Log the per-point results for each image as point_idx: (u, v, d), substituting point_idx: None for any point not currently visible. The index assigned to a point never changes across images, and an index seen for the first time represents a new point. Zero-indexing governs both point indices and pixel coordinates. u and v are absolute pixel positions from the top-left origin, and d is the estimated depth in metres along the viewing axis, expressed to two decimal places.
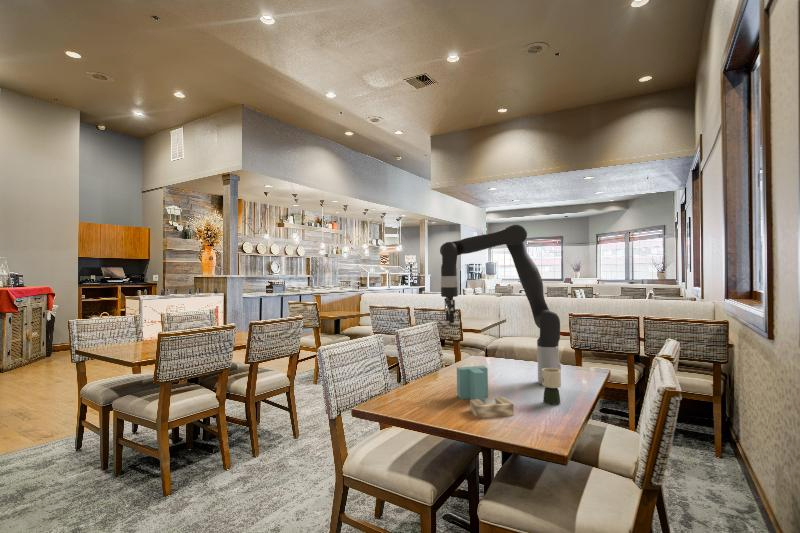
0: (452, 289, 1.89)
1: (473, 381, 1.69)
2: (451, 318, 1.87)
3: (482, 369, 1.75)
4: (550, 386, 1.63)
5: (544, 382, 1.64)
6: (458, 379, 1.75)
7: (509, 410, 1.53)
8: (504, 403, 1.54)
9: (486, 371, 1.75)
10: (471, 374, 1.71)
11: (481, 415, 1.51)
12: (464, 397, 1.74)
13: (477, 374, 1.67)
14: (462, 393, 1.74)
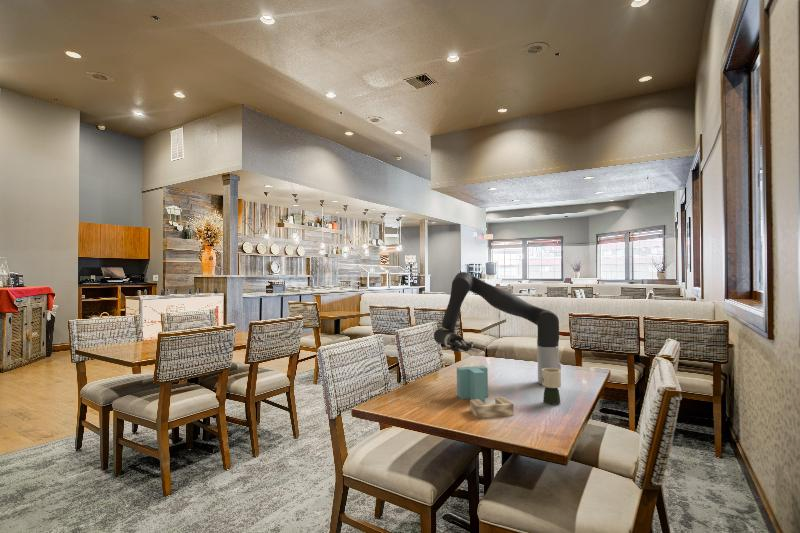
0: None
1: (473, 381, 1.69)
2: None
3: (482, 369, 1.75)
4: (550, 386, 1.63)
5: (544, 382, 1.64)
6: (458, 379, 1.75)
7: (509, 410, 1.53)
8: (504, 403, 1.54)
9: (486, 371, 1.75)
10: (471, 374, 1.71)
11: (481, 415, 1.51)
12: (464, 397, 1.74)
13: (477, 374, 1.67)
14: (462, 393, 1.74)
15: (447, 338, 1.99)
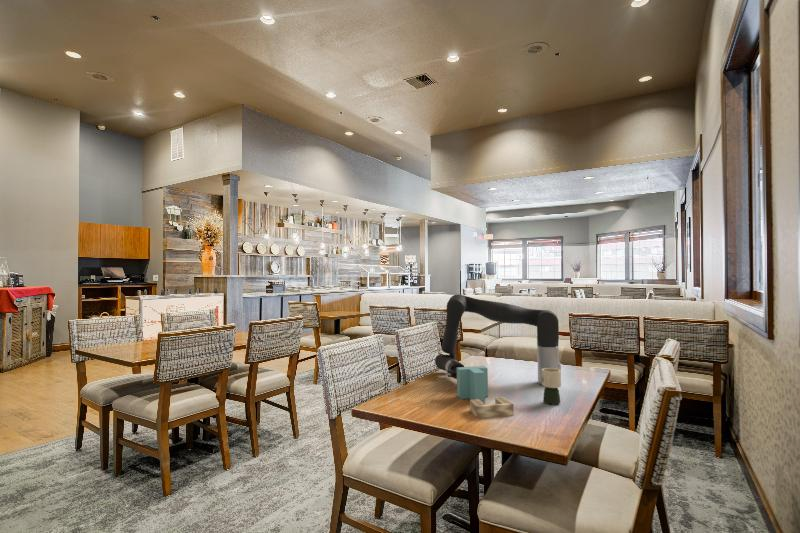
0: None
1: (473, 381, 1.69)
2: None
3: (482, 369, 1.75)
4: (550, 386, 1.63)
5: (544, 382, 1.64)
6: (458, 379, 1.75)
7: (509, 410, 1.53)
8: (504, 403, 1.54)
9: (486, 371, 1.75)
10: (471, 374, 1.71)
11: (481, 415, 1.51)
12: (464, 397, 1.74)
13: (477, 374, 1.67)
14: (462, 393, 1.74)
15: (448, 365, 2.00)
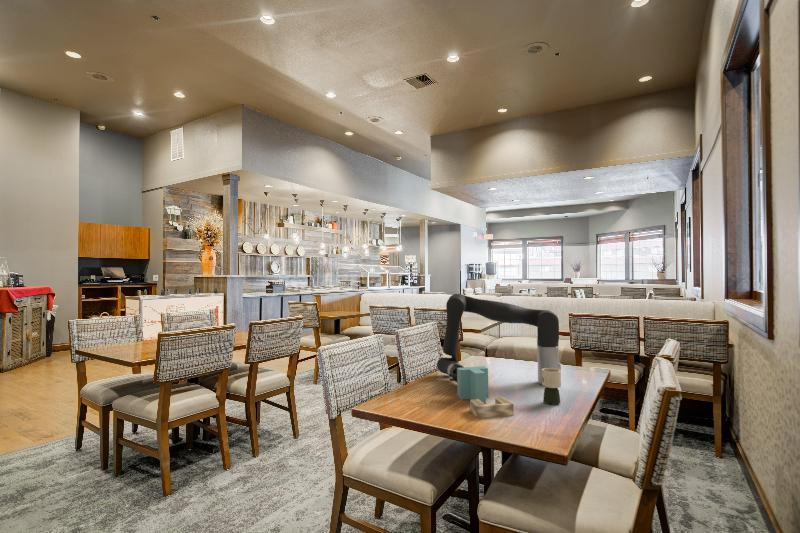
0: None
1: (474, 381, 1.68)
2: None
3: (482, 369, 1.74)
4: (550, 386, 1.63)
5: (544, 382, 1.64)
6: (459, 379, 1.74)
7: (509, 410, 1.53)
8: (504, 403, 1.54)
9: (486, 371, 1.75)
10: (472, 374, 1.70)
11: (481, 415, 1.51)
12: (465, 397, 1.73)
13: (478, 374, 1.67)
14: (462, 394, 1.73)
15: (450, 368, 1.94)
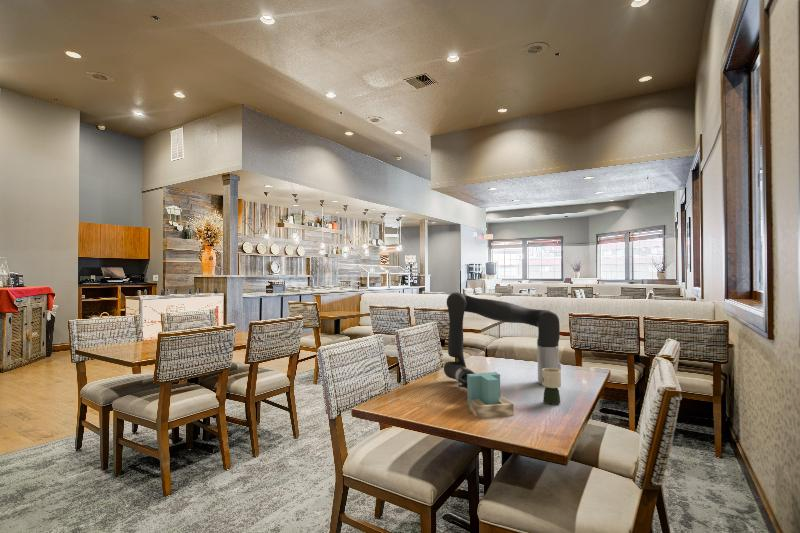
0: None
1: (486, 389, 1.57)
2: None
3: (494, 376, 1.64)
4: (550, 386, 1.63)
5: (544, 382, 1.64)
6: (469, 386, 1.63)
7: (509, 410, 1.53)
8: (504, 403, 1.54)
9: (499, 378, 1.64)
10: (484, 381, 1.60)
11: (481, 415, 1.51)
12: None
13: (491, 381, 1.56)
14: None
15: (458, 373, 1.83)
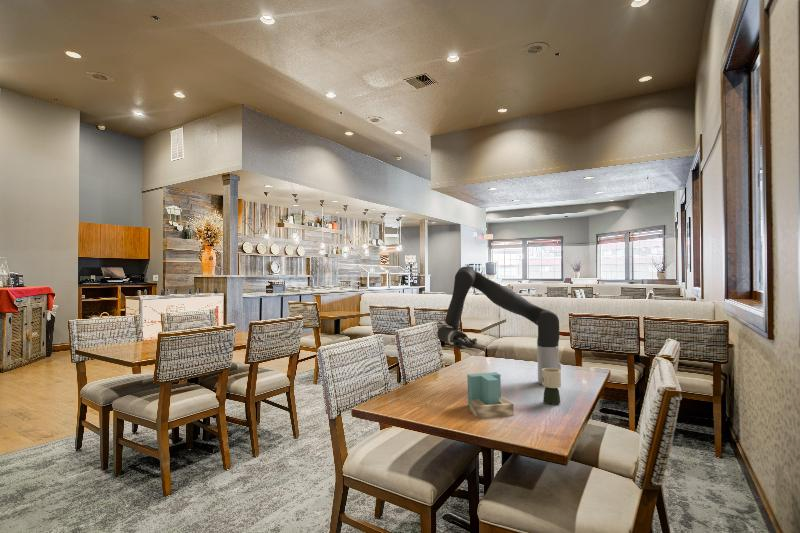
0: None
1: (486, 389, 1.57)
2: None
3: (495, 376, 1.64)
4: (550, 386, 1.63)
5: (544, 382, 1.64)
6: (469, 386, 1.63)
7: (509, 410, 1.53)
8: (504, 403, 1.54)
9: (499, 378, 1.64)
10: (484, 381, 1.59)
11: (481, 415, 1.51)
12: None
13: (491, 382, 1.56)
14: None
15: (450, 335, 1.95)
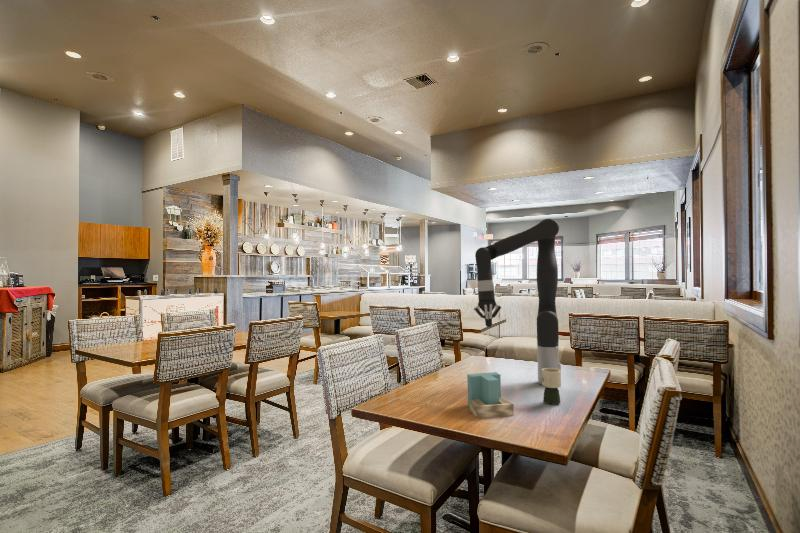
0: None
1: (486, 389, 1.57)
2: None
3: (495, 376, 1.64)
4: (550, 386, 1.63)
5: (544, 382, 1.64)
6: (469, 386, 1.63)
7: (509, 410, 1.53)
8: (504, 403, 1.54)
9: (499, 378, 1.64)
10: (484, 381, 1.59)
11: (481, 415, 1.51)
12: None
13: (491, 382, 1.56)
14: None
15: (479, 290, 1.97)
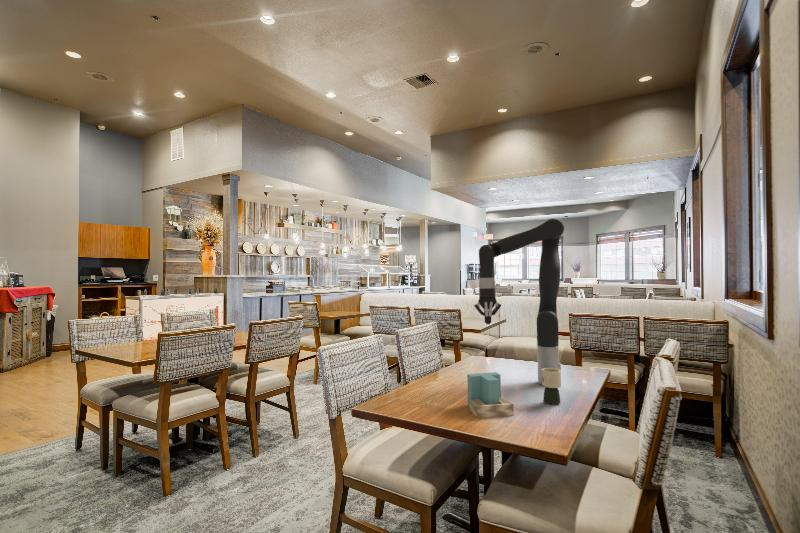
0: None
1: (486, 389, 1.57)
2: None
3: (495, 376, 1.64)
4: (550, 386, 1.63)
5: (544, 382, 1.64)
6: (469, 386, 1.63)
7: (509, 410, 1.53)
8: (504, 403, 1.54)
9: (499, 378, 1.64)
10: (484, 381, 1.59)
11: (481, 415, 1.51)
12: None
13: (491, 382, 1.56)
14: None
15: (481, 287, 1.97)
